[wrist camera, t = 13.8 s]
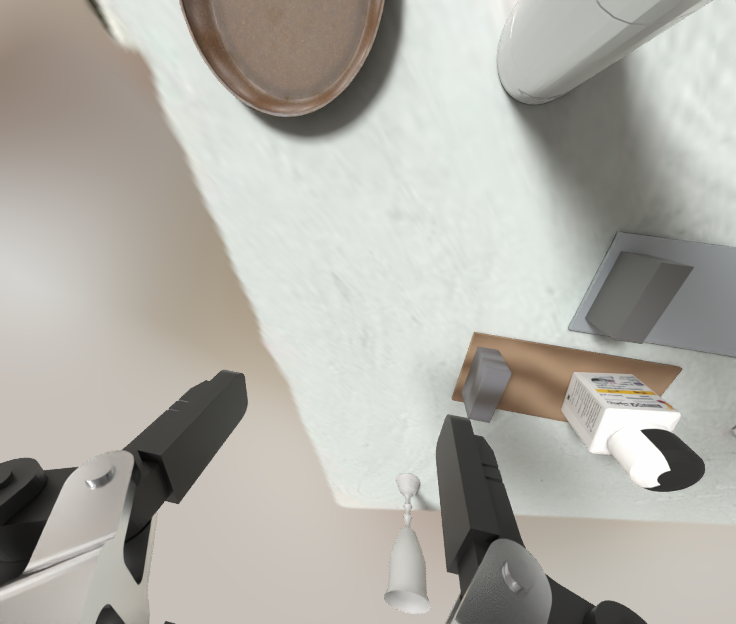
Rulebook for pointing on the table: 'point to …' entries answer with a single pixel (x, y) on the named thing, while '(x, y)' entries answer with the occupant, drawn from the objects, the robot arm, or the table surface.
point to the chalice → (407, 560)
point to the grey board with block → (663, 294)
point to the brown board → (538, 376)
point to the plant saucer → (284, 48)
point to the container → (631, 429)
